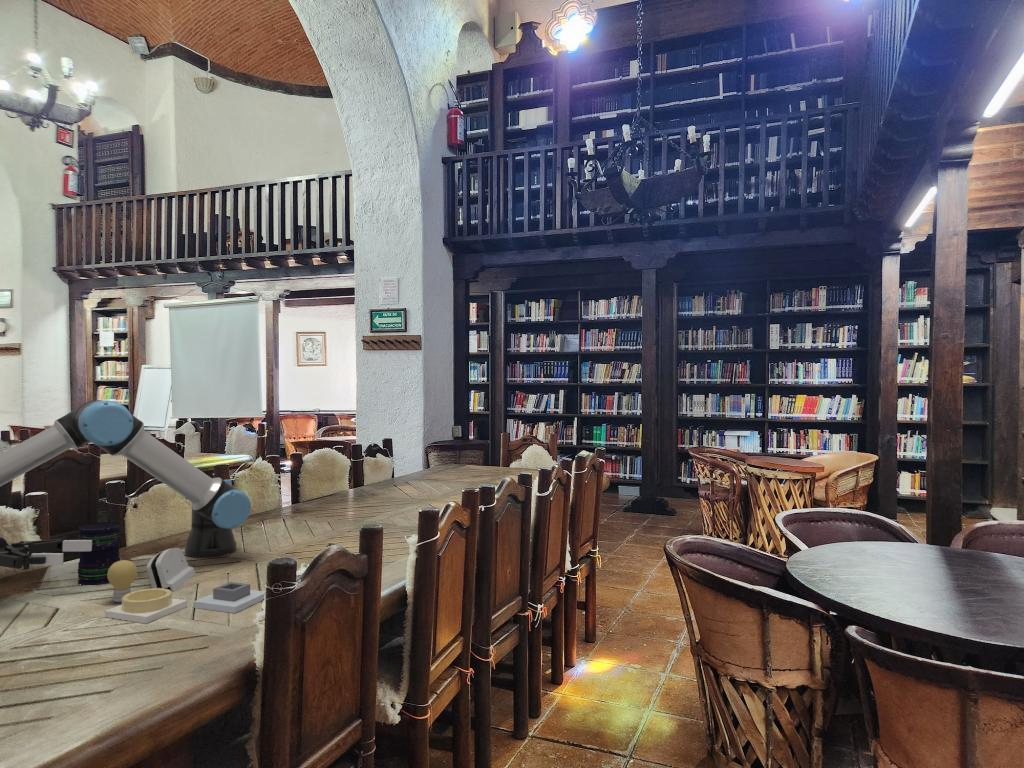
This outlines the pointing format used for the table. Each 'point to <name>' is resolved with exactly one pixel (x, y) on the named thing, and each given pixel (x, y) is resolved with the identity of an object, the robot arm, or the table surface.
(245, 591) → the square socket
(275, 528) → the table surface
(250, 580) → the table surface
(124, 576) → the light bulb
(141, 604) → the round socket
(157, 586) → the white curved block
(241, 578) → the table surface
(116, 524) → the storage jar
